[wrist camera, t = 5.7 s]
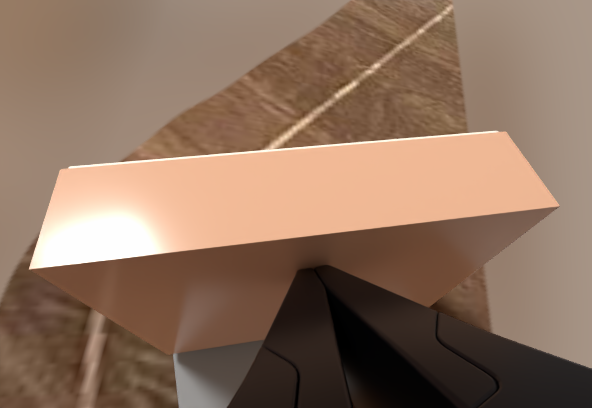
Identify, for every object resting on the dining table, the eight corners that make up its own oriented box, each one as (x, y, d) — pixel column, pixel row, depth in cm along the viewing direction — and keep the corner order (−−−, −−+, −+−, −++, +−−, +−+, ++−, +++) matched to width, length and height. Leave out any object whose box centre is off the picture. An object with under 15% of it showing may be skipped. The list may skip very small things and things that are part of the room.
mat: (428, 366, 15) (435, 367, 15) (187, 442, 13) (183, 446, 13) (367, 192, 18) (370, 188, 18) (163, 235, 16) (159, 231, 16)
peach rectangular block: (417, 315, 15) (559, 206, 7) (167, 354, 13) (29, 269, 6) (399, 263, 16) (502, 127, 9) (170, 294, 15) (61, 164, 7)
